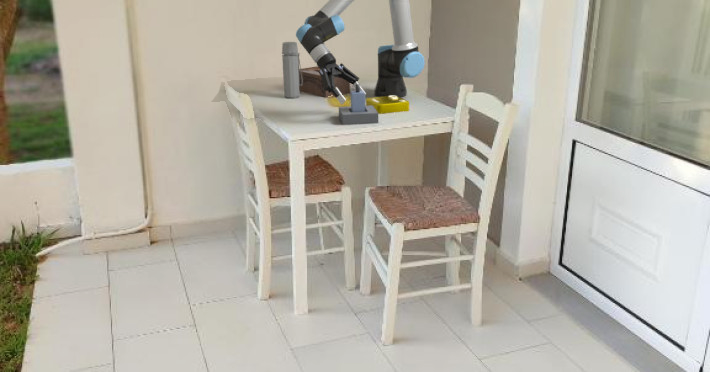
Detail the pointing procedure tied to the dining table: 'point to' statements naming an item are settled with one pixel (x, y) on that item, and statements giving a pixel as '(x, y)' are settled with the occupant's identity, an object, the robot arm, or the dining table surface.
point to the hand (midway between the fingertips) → (354, 99)
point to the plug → (357, 100)
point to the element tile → (388, 104)
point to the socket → (358, 116)
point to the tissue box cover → (319, 83)
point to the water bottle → (291, 69)
